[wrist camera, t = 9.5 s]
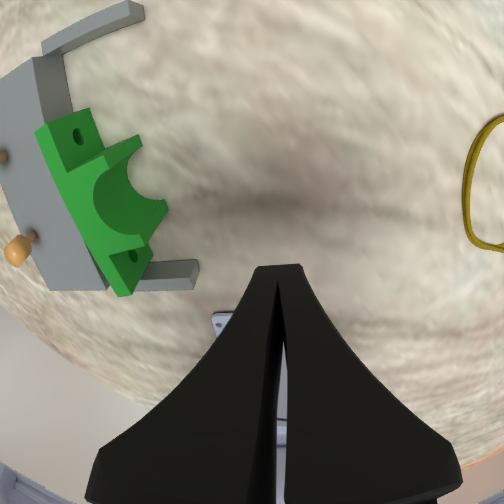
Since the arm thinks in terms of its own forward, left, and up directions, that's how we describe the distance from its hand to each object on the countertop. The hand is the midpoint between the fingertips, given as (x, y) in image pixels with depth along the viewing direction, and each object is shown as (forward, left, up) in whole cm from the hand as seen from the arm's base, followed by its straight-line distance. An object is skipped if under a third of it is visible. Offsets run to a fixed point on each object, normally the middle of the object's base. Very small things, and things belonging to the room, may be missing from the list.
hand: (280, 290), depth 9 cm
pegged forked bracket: (+3, +12, -9) cm, 16 cm away
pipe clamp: (+1, +9, -10) cm, 14 cm away
